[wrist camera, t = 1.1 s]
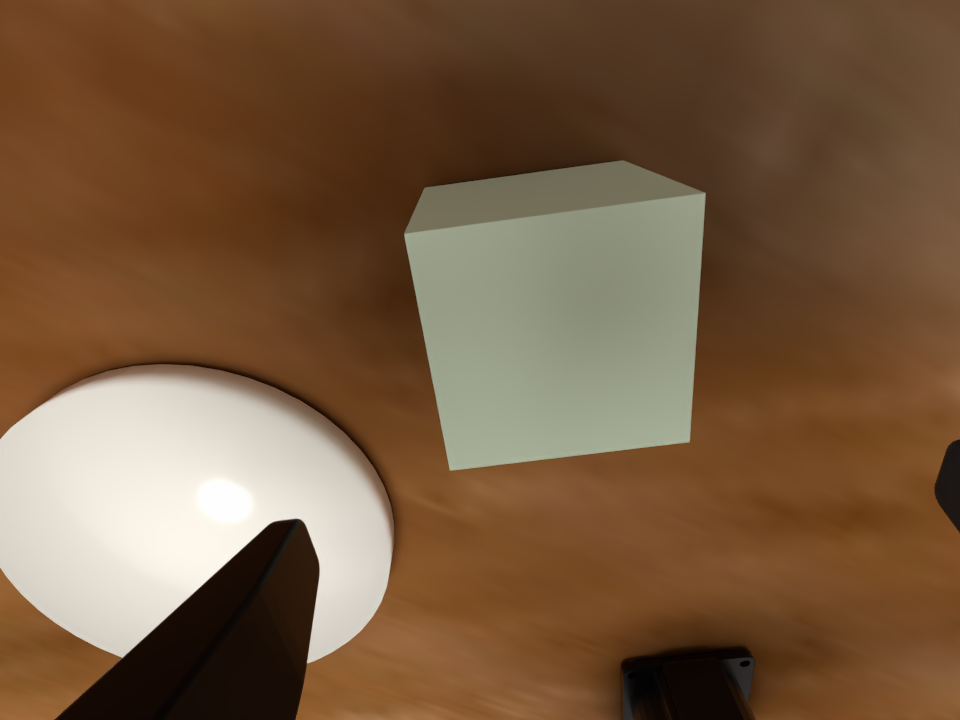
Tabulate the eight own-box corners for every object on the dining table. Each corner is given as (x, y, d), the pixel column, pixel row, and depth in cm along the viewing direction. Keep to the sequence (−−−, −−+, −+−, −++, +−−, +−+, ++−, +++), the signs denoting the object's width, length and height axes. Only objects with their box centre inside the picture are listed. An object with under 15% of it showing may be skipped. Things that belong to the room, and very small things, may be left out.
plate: (423, 626, 25) (421, 657, 23) (114, 660, 25) (94, 692, 24) (346, 338, 18) (336, 358, 16) (-74, 392, 18) (-117, 415, 17)
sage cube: (623, 341, 18) (689, 441, 13) (454, 362, 18) (449, 470, 13) (622, 160, 16) (705, 193, 10) (424, 187, 16) (404, 234, 10)
